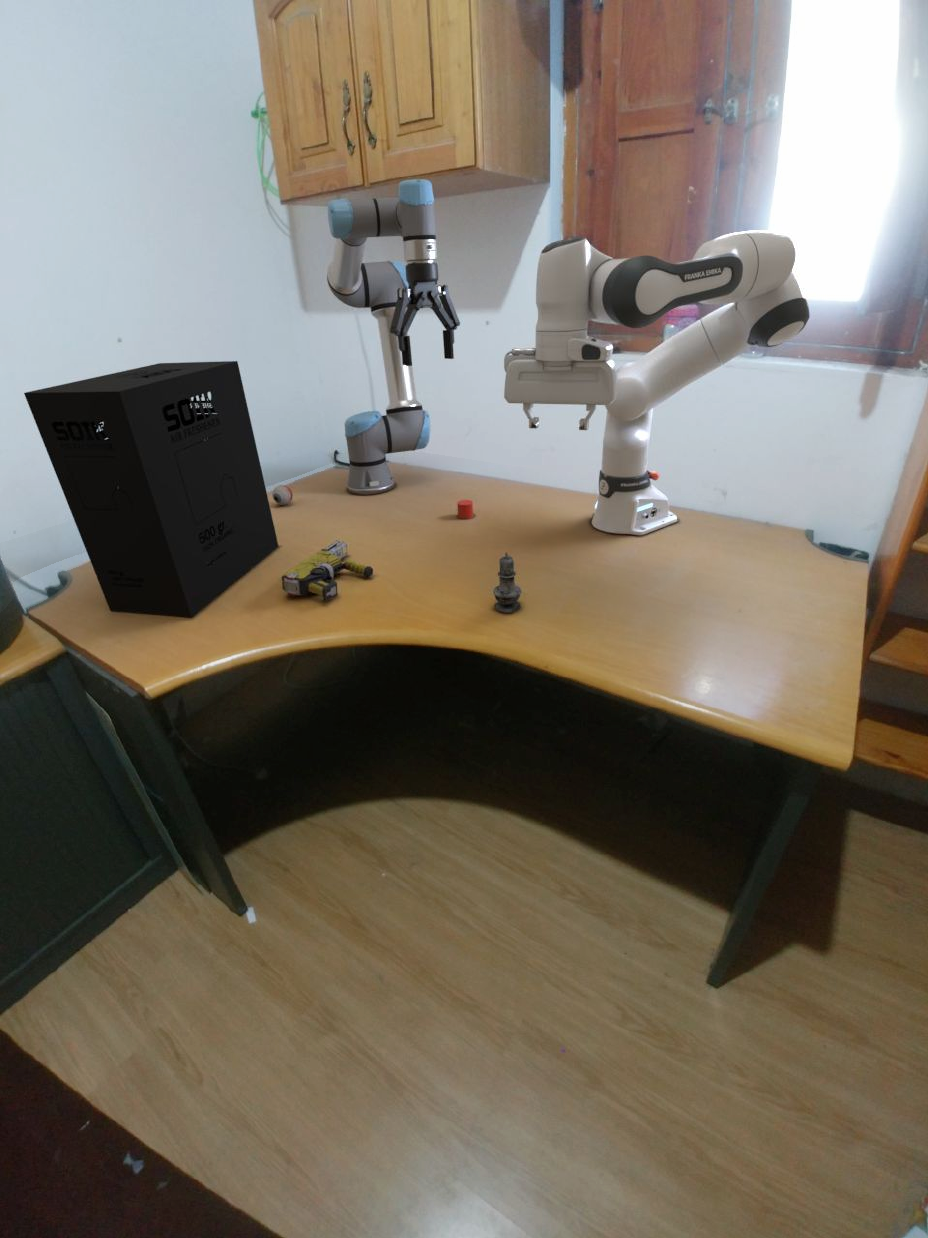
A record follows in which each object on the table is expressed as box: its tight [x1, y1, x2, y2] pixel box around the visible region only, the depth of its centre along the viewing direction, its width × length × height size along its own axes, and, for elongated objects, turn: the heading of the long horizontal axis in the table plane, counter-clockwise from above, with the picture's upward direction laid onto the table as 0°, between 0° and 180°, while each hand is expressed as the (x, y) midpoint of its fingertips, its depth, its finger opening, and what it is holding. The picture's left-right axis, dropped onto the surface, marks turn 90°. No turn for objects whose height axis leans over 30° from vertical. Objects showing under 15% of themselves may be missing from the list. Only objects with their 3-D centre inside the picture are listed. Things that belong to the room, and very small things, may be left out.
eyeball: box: [271, 484, 294, 506], centre depth 185 cm, size 6×6×6 cm
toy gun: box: [281, 539, 374, 603], centre depth 138 cm, size 5×24×15 cm
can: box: [456, 499, 474, 520], centre depth 169 cm, size 4×4×4 cm
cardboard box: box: [23, 360, 279, 618], centre depth 133 cm, size 38×20×45 cm, turn 167°
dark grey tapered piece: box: [492, 552, 523, 613], centre depth 120 cm, size 6×6×12 cm
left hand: (428, 362), depth 149 cm, fingers open, 13 cm apart
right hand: (558, 428), depth 112 cm, fingers open, 8 cm apart
